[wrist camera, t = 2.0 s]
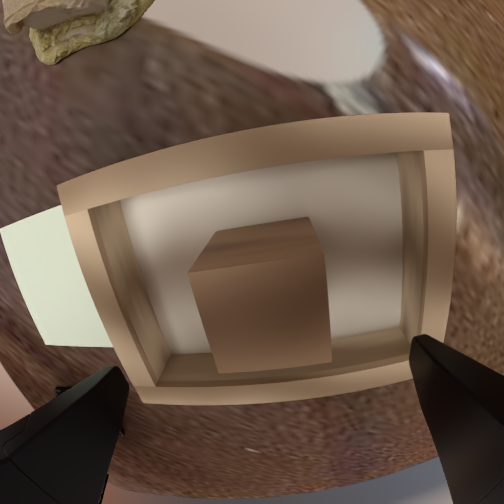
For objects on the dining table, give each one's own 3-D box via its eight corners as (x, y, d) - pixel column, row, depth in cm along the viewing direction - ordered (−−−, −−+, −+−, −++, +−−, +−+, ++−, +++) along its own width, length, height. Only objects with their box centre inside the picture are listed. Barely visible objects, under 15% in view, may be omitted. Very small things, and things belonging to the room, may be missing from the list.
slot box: (408, 324, 18) (436, 371, 13) (166, 353, 20) (143, 402, 15) (402, 119, 14) (448, 113, 9) (109, 172, 16) (56, 185, 11)
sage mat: (144, 343, 20) (142, 346, 20) (48, 342, 21) (45, 344, 21) (93, 193, 16) (90, 195, 16) (2, 227, 18) (-1, 229, 18)
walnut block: (318, 300, 15) (332, 361, 11) (234, 310, 16) (218, 373, 11) (308, 216, 14) (323, 253, 9) (215, 231, 15) (187, 272, 10)
